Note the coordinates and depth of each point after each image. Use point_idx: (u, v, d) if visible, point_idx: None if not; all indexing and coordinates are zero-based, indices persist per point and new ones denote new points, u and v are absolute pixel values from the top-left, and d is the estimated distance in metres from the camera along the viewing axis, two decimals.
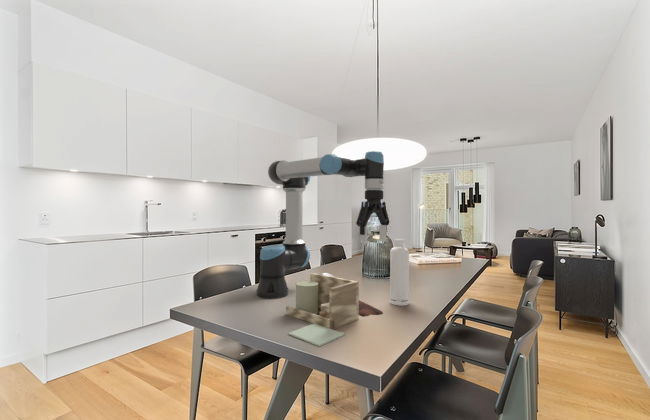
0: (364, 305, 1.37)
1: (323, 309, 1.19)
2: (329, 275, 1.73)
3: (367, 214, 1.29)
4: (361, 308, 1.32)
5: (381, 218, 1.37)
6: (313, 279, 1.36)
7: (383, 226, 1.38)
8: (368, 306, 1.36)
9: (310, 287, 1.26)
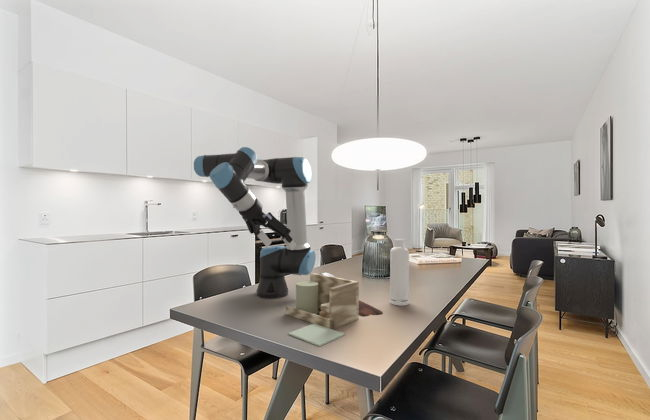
0: (364, 305, 1.37)
1: (323, 309, 1.19)
2: (329, 275, 1.73)
3: None
4: (361, 308, 1.32)
5: None
6: (313, 279, 1.36)
7: None
8: (368, 306, 1.35)
9: (310, 287, 1.26)
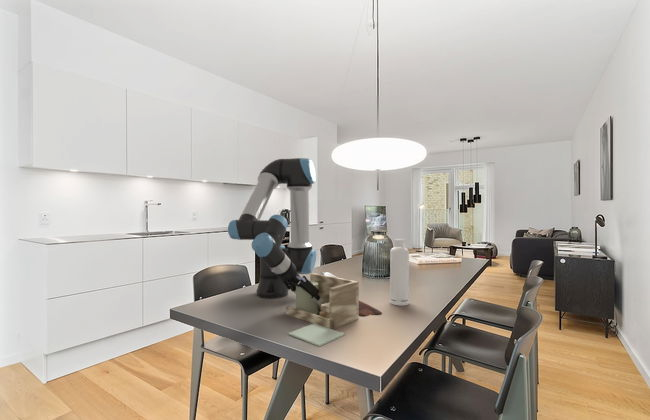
0: (364, 305, 1.37)
1: (323, 309, 1.19)
2: (330, 274, 1.74)
3: None
4: (360, 308, 1.32)
5: None
6: (313, 279, 1.36)
7: None
8: (368, 306, 1.35)
9: None
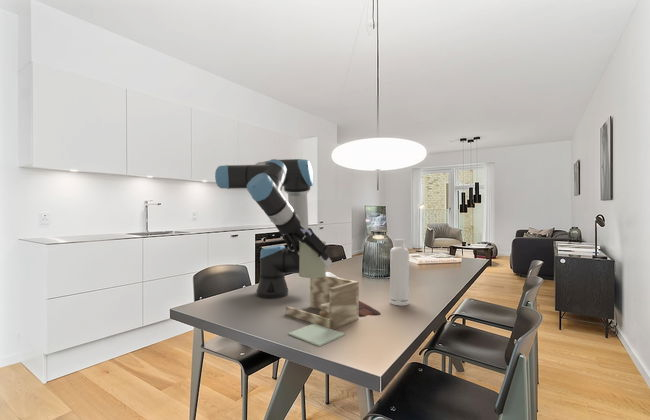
0: (363, 306, 1.36)
1: (323, 309, 1.19)
2: (331, 274, 1.75)
3: None
4: (359, 309, 1.32)
5: None
6: (313, 279, 1.36)
7: None
8: (367, 307, 1.35)
9: None
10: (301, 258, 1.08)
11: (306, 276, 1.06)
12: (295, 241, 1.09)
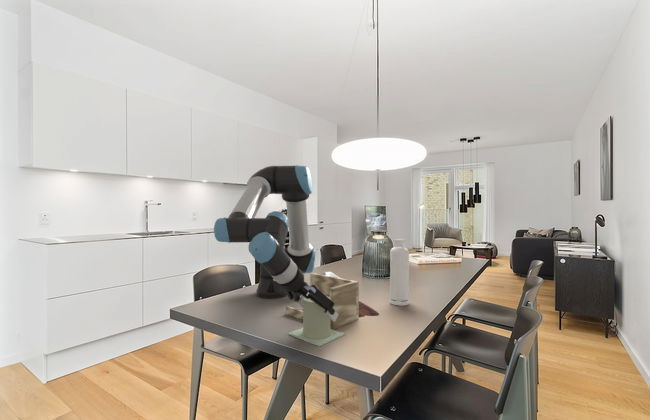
0: (362, 306, 1.36)
1: None
2: (332, 274, 1.76)
3: None
4: None
5: None
6: (313, 279, 1.36)
7: None
8: (366, 307, 1.34)
9: None
10: (305, 317, 1.04)
11: (310, 337, 1.03)
12: (297, 294, 1.05)
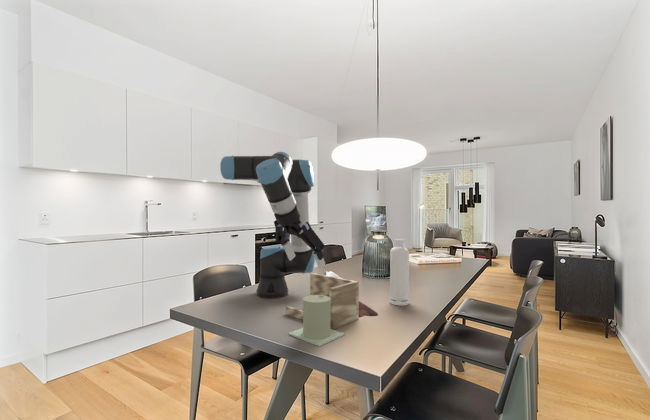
0: (361, 306, 1.36)
1: None
2: (333, 274, 1.76)
3: None
4: None
5: None
6: (313, 279, 1.36)
7: None
8: (365, 307, 1.34)
9: (321, 304, 1.02)
10: (305, 317, 1.04)
11: (310, 337, 1.03)
12: (286, 235, 1.07)
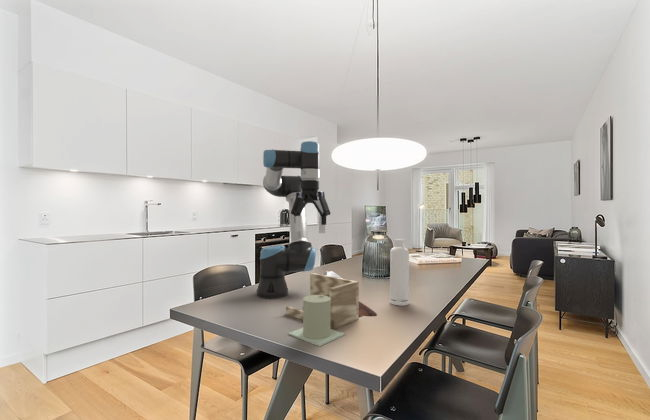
0: (361, 306, 1.36)
1: None
2: (333, 273, 1.77)
3: None
4: None
5: None
6: (313, 279, 1.36)
7: None
8: (364, 307, 1.34)
9: (321, 304, 1.02)
10: (305, 317, 1.04)
11: (310, 337, 1.03)
12: (302, 205, 1.35)
